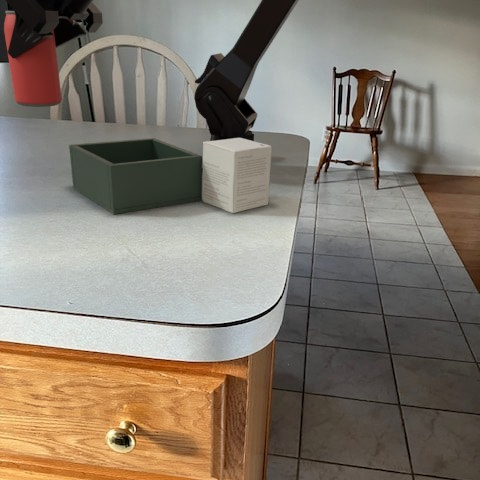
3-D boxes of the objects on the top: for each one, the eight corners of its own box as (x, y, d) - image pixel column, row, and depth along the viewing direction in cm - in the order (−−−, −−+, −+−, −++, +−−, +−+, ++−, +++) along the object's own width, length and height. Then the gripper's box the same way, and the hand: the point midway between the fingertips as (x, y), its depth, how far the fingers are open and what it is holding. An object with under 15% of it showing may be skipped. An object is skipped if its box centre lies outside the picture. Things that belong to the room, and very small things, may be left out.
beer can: (62, 107, 79) (51, 12, 73) (13, 107, 77) (-2, 10, 71) (62, 101, 84) (52, 12, 78) (17, 101, 82) (3, 10, 77)
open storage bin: (201, 200, 68) (202, 156, 66) (113, 214, 62) (110, 165, 59) (155, 178, 77) (154, 137, 74) (73, 188, 70) (68, 144, 67)
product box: (237, 193, 72) (240, 136, 68) (269, 205, 68) (274, 145, 64) (200, 201, 68) (201, 140, 64) (232, 214, 64) (235, 150, 61)
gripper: (74, -78, 77) (15, 9, 84) (1, -106, 61) (-65, 5, 67) (130, -11, 80) (69, 67, 86) (75, -21, 63) (4, 77, 70)
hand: (23, 54), depth 78 cm, fingers closed on beer can, 6 cm apart
